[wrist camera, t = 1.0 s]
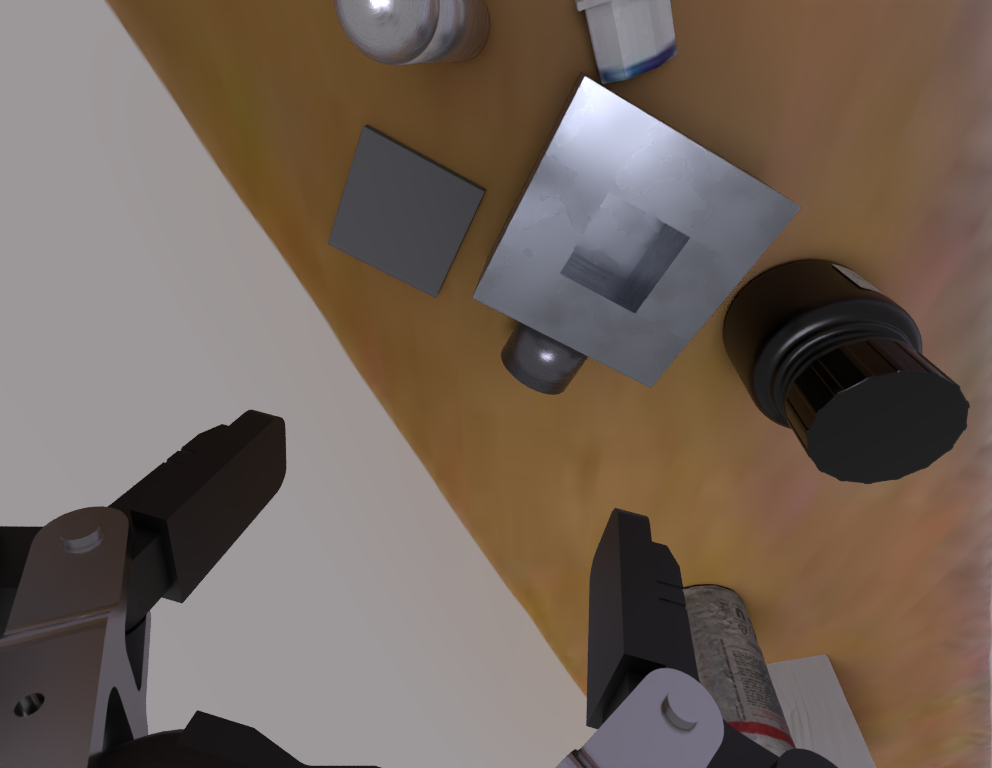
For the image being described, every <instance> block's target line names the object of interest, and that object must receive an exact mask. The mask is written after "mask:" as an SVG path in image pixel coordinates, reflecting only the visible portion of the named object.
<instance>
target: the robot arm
mask: <svg viewBox="0 0 992 768" xmlns="http://www.w3.org/2000/svg"><path fill="white" fill-rule="evenodd" d="M285 473H286V436H285V422H284V420H283V418H281V417H278V416H273V415H270V414H266V413H262V412H259V411H255V410H248V411H246V412H245V413H244V414H242V415H241V416H240V417H239V418H238V419H237V420H235V421H234V422H233V423H232V424H231V425H229V426H227V425H223V424H222V425H219V426H217V427H214V428H212V429H210V430H208V431H205V432H203V433H200V434H198V435H197V436H196V437H195V438H194V439H192V440H191V441H190V442H188V443H187V444H186V445H185V446H183V447H182V449H181V451H177V452H176V453H175V454H173V455H172V456H171V457H170V458H168V459H167V462H166V463H164V462H163V463H162V464H161V465H160V466H158V467H157V468H156V469H155V470H154V471H152V472H151V473H150V474H148V475H147V476H146V477H145V478H143V479H142V480H141V481H139V482H138V483H137V484H136V485H134V486H133V487H132V488H131V489H130V490H129V491H127V492H126V493H125V494H123V495H122V496H121V497H120V498H118V499H117V500H116V501H114V502H113V503H112V504H111V505H109V506H108V507H88V508H83V509H79V510H75V511H72V512H69V513H66V514H64V515H62V516H60V517H58V518H56V519H54V520H53V521H51V522H49V523H48V524H47V525H46V526H44V527H7V526H6V527H3V526H1V527H0V768H380V767H377V766H309V765H305V764H303V763H301V762H299V761H298V760H297V759H295V758H294V757H293V756H291V755H290V754H289V753H287V752H286V751H284V750H283V749H282V748H280V747H279V746H278V745H276V744H275V743H274V742H272V741H271V740H269V739H268V738H267V737H266V736H264V735H263V734H261V733H260V732H259V731H257V730H256V729H255V728H252V727H249V726H246V725H243V724H240V723H236V722H233V721H229V720H227V719H224V718H220V717H217V716H214V715H210V714H208V713H204V712H201V711H196V713H195V714H194V716H193V717H192V719H191V720H190V722H189V723H188V725H187V726H186V728H185V729H178V730H171V731H163V732H159V733H155V734H151V735H148V725H147V716H146V691H147V675H148V659H149V658H148V657H149V643H150V628H151V613H150V609H151V608H152V607H153V606H154V605H155V604H156V603H157V602H158V601H159V599H160V598H161V597H163V598H166V599H169V600H173V601H176V602H180V603H183V602H184V601H185V600H186V598H187V597H188V596H189V595H190V594H191V593H192V591H193V590H194V589H195V588H196V587H197V586H198V584H199V583H200V582H201V581H202V580H203V579H204V577H205V576H206V575H207V574H208V573H209V571H210V570H211V569H212V568H213V567H214V566H215V564H216V563H217V562H218V561H219V560H220V559H221V557H222V556H223V555H224V554H225V553H226V552H227V550H228V549H229V548H230V547H231V546H232V545H233V543H234V542H235V541H236V540H237V539H238V538H239V536H240V535H241V534H242V533H243V531H244V530H245V529H246V528H247V527H248V526H249V525H250V523H251V522H252V521H253V520H254V519H255V518H256V516H257V515H258V514H259V513H260V512H261V510H262V509H263V508H264V507H265V506H266V505H267V503H268V502H269V501H270V500H271V499H272V498H273V496H274V495H275V494H276V493H277V492H278V490H279V488H280V487H281V485H282V482H283V480H284V477H285ZM682 590H683V584H682V578H681V573H680V567H679V565H678V563H677V562H676V560H675V558H674V557H673V555H672V553H671V552H670V550H669V548H668V547H667V546H666V545H662V544H659V543H655V542H652V539H651V530H650V522H649V518H648V517H647V516H644V515H640V514H636V513H632V512H629V511H625V510H621V509H617V508H615V509H614V510H613V511H612V513H611V516H610V518H609V521H608V523H607V526H606V528H605V530H604V533H603V535H602V538H601V540H600V543H599V545H598V548H597V550H596V553H595V556H594V559H593V563H592V568H591V574H590V592H589V635H588V678H587V722H586V725H587V726H588V727H592V728H595V729H598V730H597V731H596V733H594V735H593V736H592V737H591V738H590V739H589V740H588V741H587V743H585V745H584V746H583V747H582V748H580V749H579V750H578V751H577V750H573V751H572V752H571V753H570V754H569V755H567V756H566V757H565V758H564V759H563V760H562V761H561V763H560V764H559V765H558V766H557V767H556V768H838V767H837V766H836V765H834V764H833V763H832V762H830V761H829V760H828V759H826V758H824V757H823V756H821V755H819V754H817V753H815V752H813V751H810V750H806V749H799V748H795V749H790V750H788V751H786V752H784V753H783V754H782V755H781V756H780V757H779V756H777V755H775V754H774V753H772V752H771V751H769V750H767V749H766V748H764V747H762V746H761V745H759V744H758V743H756V742H754V741H753V740H751V739H750V738H748V737H746V736H745V735H743V734H742V733H740V732H739V731H737V730H736V729H734V728H733V727H732V726H731V725H730V724H728V723H727V722H726V721H725V720H724V719H723V718H722V716H721V713H720V710H719V708H718V706H717V704H716V702H715V701H714V699H713V698H712V696H711V695H710V694H709V692H708V691H707V690H706V689H705V688H704V687H703V686H702V685H701V684H700V680H699V676H698V670H697V665H696V659H695V653H694V647H693V642H692V636H691V630H690V624H689V619H688V613H687V609H685V608H686V601H685V596H684V592H683V591H682Z"/></svg>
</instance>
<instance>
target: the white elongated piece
mask: <svg viewBox="0 0 992 768" xmlns="http://www.w3.org/2000/svg"><path fill="white" fill-rule="evenodd" d="M575 3H576V7H577V9H578V11H581V10H585V15H586V19H587V24H588V28H589V33H590V37H591V42H592V47H593V51H594V56H595V60H596V65H597V69H598V74H599V78H600V81H601V83H602V84H606V83H611V82H617V81H622V80H627V79H629V78H632V77H635V76H637V75H640V74H642V73H645V72H647V71H650V70H652V69H655V68H657V67H659V66H661V65H662V64H664V63H665V62H666V61H668V60H669V59H671V58H672V57H674V56H675V55H677V48H676V41H675V33H674V26H673V18H672V11H671V4H670V0H575Z"/></svg>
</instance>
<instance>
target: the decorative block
mask: <svg viewBox="0 0 992 768" xmlns="http://www.w3.org/2000/svg"><path fill="white" fill-rule="evenodd" d="M766 666H767V669H768V672H769V675H770V678H771V680H772V684H773V687H774V689H775V692H776V695H777V697H778V700H779V703H780V705H781V708H782V711H783V714H784V717H785V719H786V722H787V725H788V727H789V731H790V734H791V737H792V739H793V742H794V744H795V747H796V748H799V749H806V750H810V751H813V752H815V753H817V754H819V755H821V756H823V757H824V758H826V759H828V760H829V761H830V762H832V763H833V764H834V765H836V766H837V767H838V768H876V766H875V764H874V762H873V759H872V757H871V755H870V752H869V750H868V748H867V745H866V743H865V741H864V739H863V736H862V734H861V732H860V729H859V727H858V725H857V723H856V720H855V718H854V716H853V714H852V711H851V709H850V707H849V705H848V702H847V700H846V698H845V695H844V693H843V690H842V688H841V686H840V684H839V681H838V679H837V677H836V674H835V672H834V670H833V668H832V665H831V663H830V660H829V658H828V656H827V655H826V654H824V655H818V656H812V657H806V658H800V659H794V660H788V661H782V662H776V663H770V664H766Z"/></svg>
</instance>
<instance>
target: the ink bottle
mask: <svg viewBox="0 0 992 768" xmlns="http://www.w3.org/2000/svg"><path fill="white" fill-rule="evenodd" d="M724 342H725V347H726V351H727V353H728V356H729V358H730V359H731V361H732V363H733V365H734V367H735V369H736V371H737V372H738V374H739V376H740V378H741V380H742V382H743V383H744V385H745V387H746V389H747V391H748V393H749V395H750V396H751V398H752V400H753V402H754V403H755V405H756V406H757V407H758V409H759V410H760V411H761V412H762V413H763V414H764V415H765V416H766V417H767V418H769V419H770V420H772V421H773V422H775V423H777V424H779V425H781V426H784V427H787V428H790V429H792V430H793V432H794V433H795V435H796V437H797V438H798V440H799V442H800V443H801V445H802V447H803V448H804V450H805V452H806V453H807V455H808V456H809V457H810V458H811V459H812V460H813V462H814V463H815V465H816V466H817V468H818V470H819V471H821V472H824V473H826V474H828V475H830V476H833V477H835V478H837V479H838V480H840V481H849V482H859V483H864V484H872V483H875V482H881V481H888V480H897V479H900V478H902V477H904V476H906V475H909V474H911V473H914V472H916V471H919V470H921V469H925V468H927V467H929V466H930V465H931V464H932V463H933V462H934V461H936V460H937V459H938V458H940V457H941V456H942V455H944V454H945V453H946V452H949V451H950V450H951V449H952V448H953V445H954V444H955V443H956V441H957V440H958V438H959V437H960V435H961V434H962V432H963V431H964V430H965V429H966V427H967V416H968V409H969V407H970V405H969V402H968V401H967V400H966V399H965V397H964V395H963V393H962V392H961V390H960V386H959V385H958V384H957V383H955V382H954V381H953V380H952V379H951V378H949V377H948V376H947V375H946V374H945V373H943V372H942V371H941V370H940V369H939V368H938V367H936V366H935V365H934V364H933V363H932V362H930V361H929V360H928V359H927V358H926V357H924V356H923V355H922V339H921V335H920V332H919V329H918V327H917V325H916V323H915V322H914V320H913V319H912V317H911V316H910V315H909V314H908V313H907V312H906V311H905V310H904V309H903V308H902V307H900V306H899V305H898V304H896V303H895V302H894V301H893V300H891V299H890V298H889V297H887V296H886V295H885V294H883V293H882V292H881V291H879V290H878V289H877V288H875V287H874V286H873V285H871V284H870V283H869V282H867V281H866V280H865V279H863V278H862V277H861V276H859V275H858V274H856V273H855V272H854V271H852V270H851V269H849V268H847V267H845V266H843V265H840V264H837V263H834V262H829V261H820V260H810V261H800V262H795V263H790V264H787V265H783V266H780V267H778V268H775V269H773V270H771V271H768V272H766V273H765V274H763V275H761V276H759V277H758V278H756V279H755V280H754V281H752V282H751V283H750V284H748V285H747V286H746V287H745V288H744V289H743V290H742V291H741V292H740V294H739V295H738V296H737V298H736V299H735V300H734V302H733V304H732V306H731V308H730V310H729V312H728V315H727V318H726V322H725V327H724Z"/></svg>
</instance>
